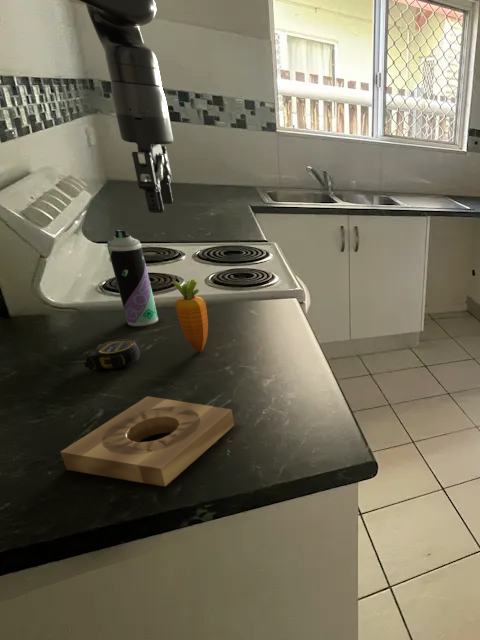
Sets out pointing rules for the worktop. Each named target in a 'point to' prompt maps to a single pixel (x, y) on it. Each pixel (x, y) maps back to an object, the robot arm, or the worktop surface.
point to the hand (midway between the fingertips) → (161, 207)
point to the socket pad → (149, 457)
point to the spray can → (132, 279)
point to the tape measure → (113, 355)
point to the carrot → (192, 315)
